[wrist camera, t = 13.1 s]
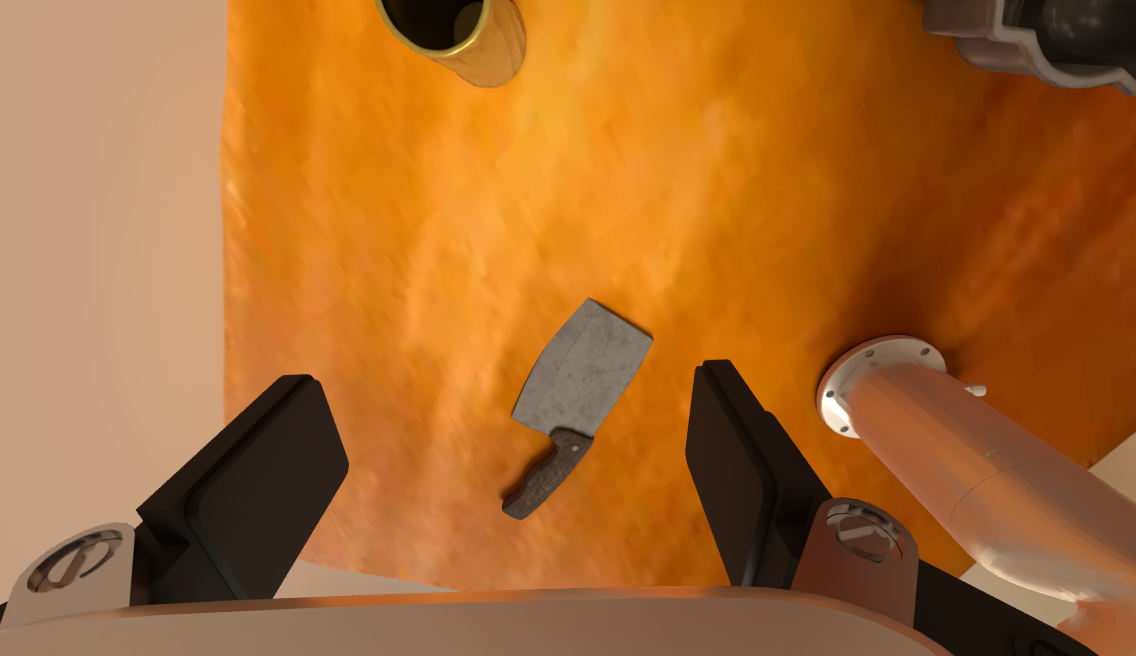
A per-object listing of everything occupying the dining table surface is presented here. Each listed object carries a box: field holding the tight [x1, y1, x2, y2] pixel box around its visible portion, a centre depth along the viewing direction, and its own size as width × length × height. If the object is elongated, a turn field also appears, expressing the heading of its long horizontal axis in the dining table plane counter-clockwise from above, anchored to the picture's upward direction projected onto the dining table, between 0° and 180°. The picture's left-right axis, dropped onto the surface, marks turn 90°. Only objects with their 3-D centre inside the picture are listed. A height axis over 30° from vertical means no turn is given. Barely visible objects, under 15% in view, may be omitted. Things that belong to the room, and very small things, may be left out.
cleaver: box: [502, 298, 654, 520], centre depth 46 cm, size 30×10×2 cm, turn 154°
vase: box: [375, 0, 526, 88], centre depth 24 cm, size 6×6×14 cm
